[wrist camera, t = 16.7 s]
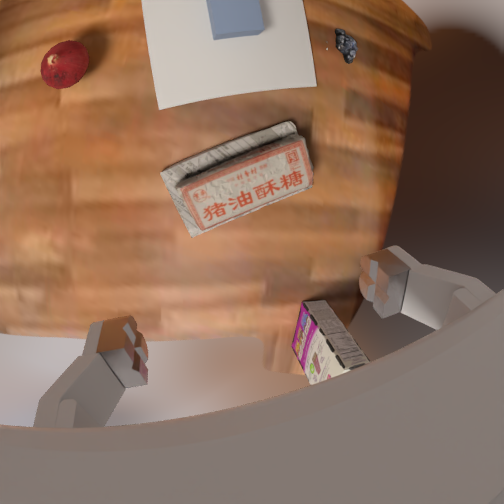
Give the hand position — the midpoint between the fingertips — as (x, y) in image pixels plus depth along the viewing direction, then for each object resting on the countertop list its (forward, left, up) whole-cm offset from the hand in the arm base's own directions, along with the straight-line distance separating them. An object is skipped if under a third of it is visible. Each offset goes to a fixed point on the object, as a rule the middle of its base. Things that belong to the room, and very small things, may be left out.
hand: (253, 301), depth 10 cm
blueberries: (+22, +13, -30) cm, 39 cm away
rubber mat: (+6, +16, -29) cm, 34 cm away
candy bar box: (+13, -33, -29) cm, 46 cm away
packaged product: (+5, -4, -30) cm, 30 cm away
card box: (+7, +15, -27) cm, 32 cm away
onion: (-13, +16, -29) cm, 36 cm away
